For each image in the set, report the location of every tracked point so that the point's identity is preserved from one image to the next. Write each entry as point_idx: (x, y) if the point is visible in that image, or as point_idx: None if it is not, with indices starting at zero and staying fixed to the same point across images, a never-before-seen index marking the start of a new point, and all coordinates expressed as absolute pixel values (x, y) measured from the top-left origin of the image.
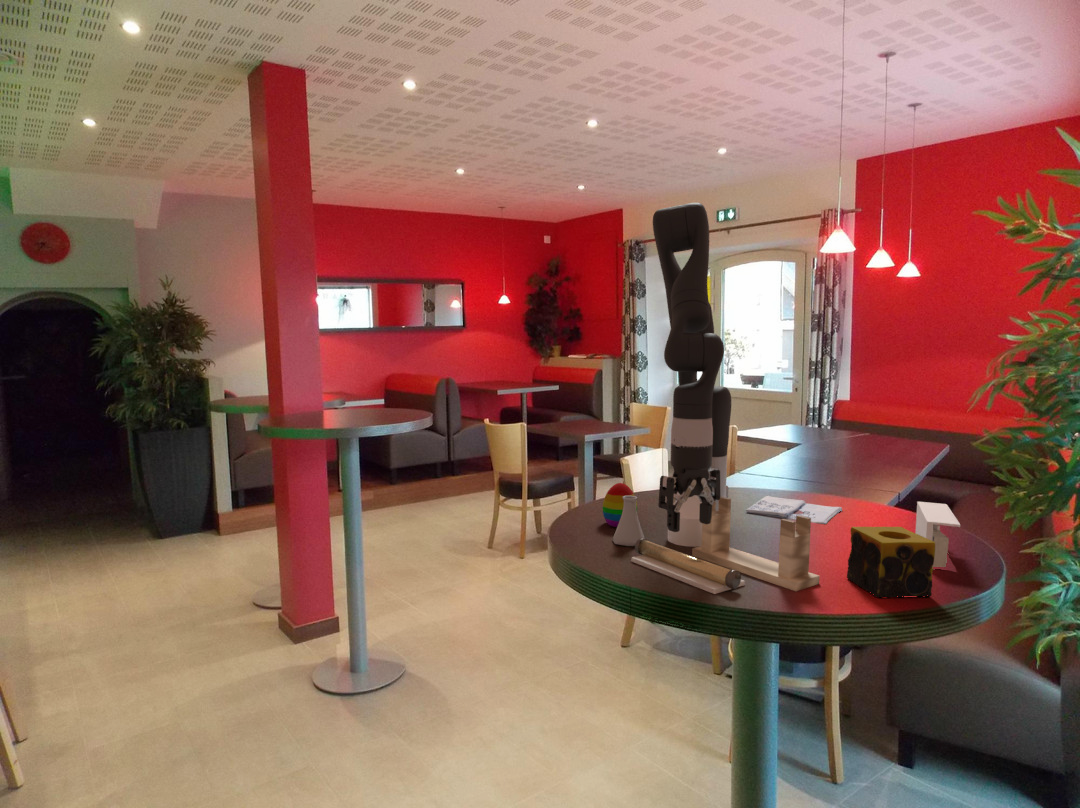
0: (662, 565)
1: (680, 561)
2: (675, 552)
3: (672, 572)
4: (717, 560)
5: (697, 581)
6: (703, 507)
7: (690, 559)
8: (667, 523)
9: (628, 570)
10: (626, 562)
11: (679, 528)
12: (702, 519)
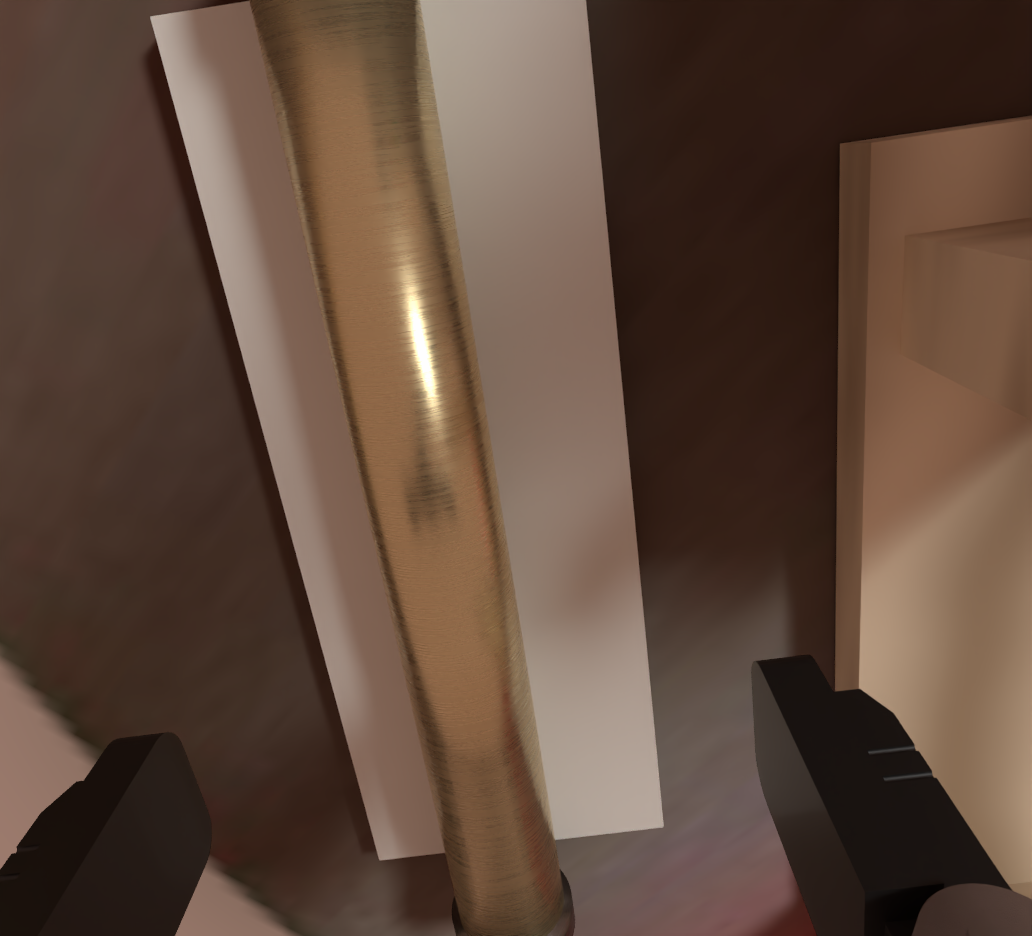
0: (323, 363)
1: (377, 558)
2: (393, 476)
3: (305, 531)
4: (850, 450)
5: (365, 733)
6: (838, 910)
7: (417, 652)
8: (27, 840)
9: (33, 243)
10: (107, 24)
11: (199, 876)
12: (768, 731)
